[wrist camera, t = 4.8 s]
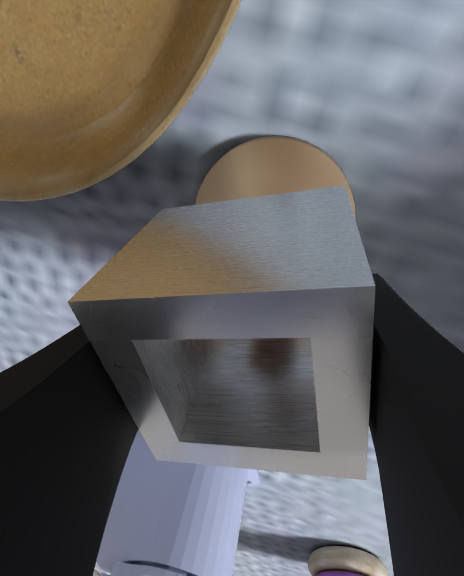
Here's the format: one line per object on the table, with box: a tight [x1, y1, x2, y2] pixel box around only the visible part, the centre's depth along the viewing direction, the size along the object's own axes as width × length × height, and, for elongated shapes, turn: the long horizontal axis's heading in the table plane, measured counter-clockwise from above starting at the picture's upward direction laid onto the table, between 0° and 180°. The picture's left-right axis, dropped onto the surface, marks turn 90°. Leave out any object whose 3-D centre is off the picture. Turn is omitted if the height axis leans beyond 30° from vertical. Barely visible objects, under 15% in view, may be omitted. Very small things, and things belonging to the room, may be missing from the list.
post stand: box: [195, 135, 356, 217], centre depth 13 cm, size 7×7×6 cm
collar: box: [68, 185, 375, 480], centre depth 9 cm, size 6×6×5 cm
